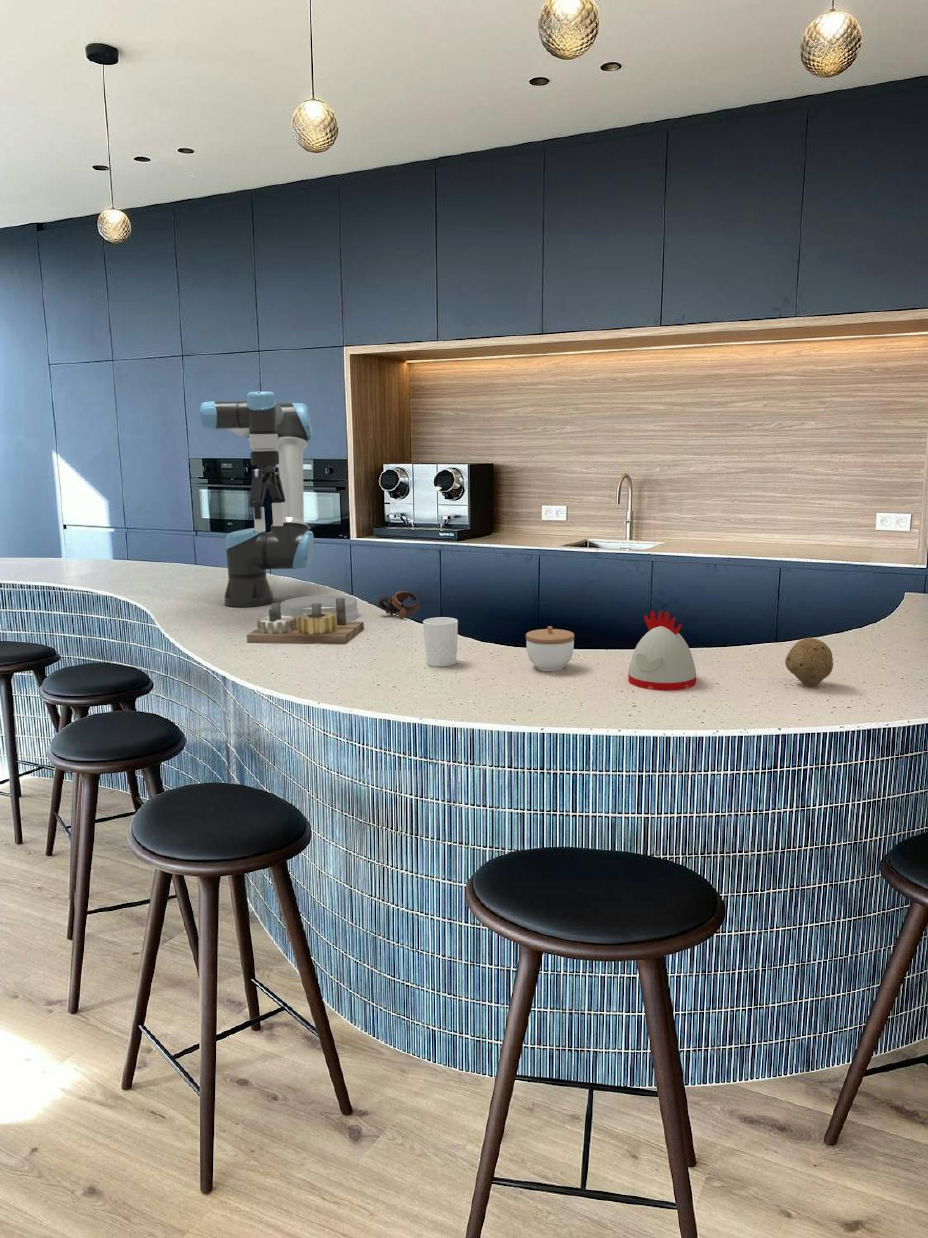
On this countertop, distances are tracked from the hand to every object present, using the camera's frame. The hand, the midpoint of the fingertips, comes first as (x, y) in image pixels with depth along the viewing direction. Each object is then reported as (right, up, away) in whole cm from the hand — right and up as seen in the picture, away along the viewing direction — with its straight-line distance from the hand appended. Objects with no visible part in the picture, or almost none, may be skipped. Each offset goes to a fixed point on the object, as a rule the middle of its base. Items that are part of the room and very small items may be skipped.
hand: (269, 528), depth 253 cm
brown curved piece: (+35, -24, +12) cm, 44 cm away
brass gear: (+16, -28, -14) cm, 35 cm away
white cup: (+48, -35, -42) cm, 73 cm away
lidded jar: (+73, -36, -48) cm, 94 cm away
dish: (+12, -25, +13) cm, 30 cm away
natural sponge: (+123, -39, -66) cm, 145 cm away
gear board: (+12, -29, -10) cm, 33 cm away
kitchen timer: (+95, -38, -61) cm, 119 cm away
